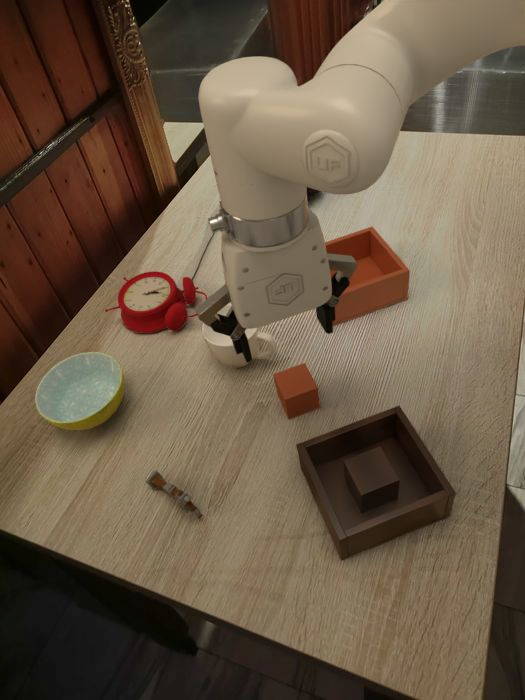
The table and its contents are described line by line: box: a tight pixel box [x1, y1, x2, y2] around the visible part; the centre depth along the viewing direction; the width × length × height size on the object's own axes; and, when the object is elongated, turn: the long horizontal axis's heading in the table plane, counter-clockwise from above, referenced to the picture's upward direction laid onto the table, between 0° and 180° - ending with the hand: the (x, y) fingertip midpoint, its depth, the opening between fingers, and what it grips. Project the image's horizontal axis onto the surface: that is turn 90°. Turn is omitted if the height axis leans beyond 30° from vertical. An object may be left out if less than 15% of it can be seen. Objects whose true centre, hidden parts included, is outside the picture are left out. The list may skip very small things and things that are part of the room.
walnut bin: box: [295, 405, 457, 561], centre depth 58 cm, size 13×12×6 cm
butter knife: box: [176, 204, 221, 292], centre depth 95 cm, size 1×27×3 cm
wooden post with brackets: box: [145, 469, 204, 520], centre depth 62 cm, size 2×8×4 cm, turn 51°
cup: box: [201, 303, 277, 369], centre depth 73 cm, size 8×10×7 cm
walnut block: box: [343, 446, 400, 513], centre depth 58 cm, size 4×4×4 cm
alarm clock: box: [104, 270, 208, 334], centre depth 83 cm, size 10×6×15 cm
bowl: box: [34, 351, 125, 431], centre depth 71 cm, size 11×12×6 cm
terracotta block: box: [272, 362, 321, 420], centre depth 68 cm, size 4×4×4 cm
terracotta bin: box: [325, 226, 411, 327], centre depth 80 cm, size 13×12×6 cm
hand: (285, 339), depth 61 cm, fingers open, 9 cm apart
